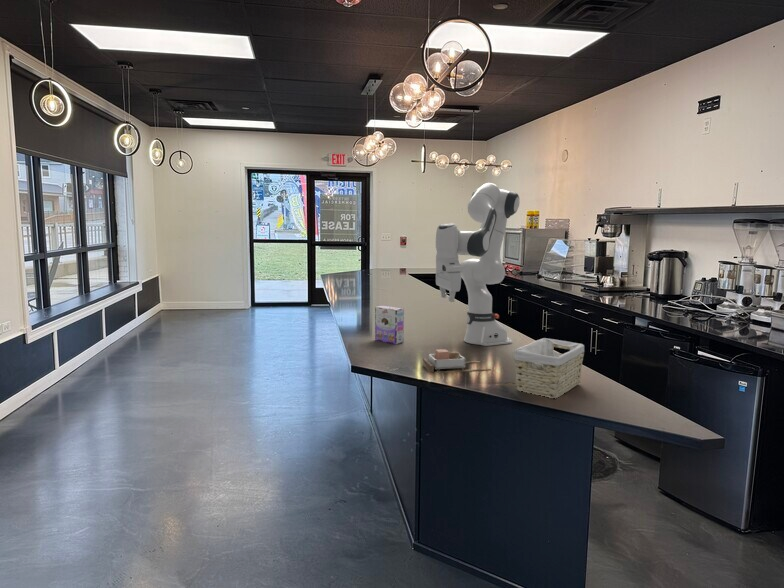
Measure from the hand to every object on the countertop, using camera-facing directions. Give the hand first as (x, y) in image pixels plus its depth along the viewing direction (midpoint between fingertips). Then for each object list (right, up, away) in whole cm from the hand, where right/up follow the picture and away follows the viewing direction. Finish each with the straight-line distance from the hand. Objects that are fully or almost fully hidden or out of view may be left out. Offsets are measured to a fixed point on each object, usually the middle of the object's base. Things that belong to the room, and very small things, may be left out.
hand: (447, 299), depth 206 cm
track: (+3, -27, -9) cm, 29 cm away
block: (-3, -24, -10) cm, 26 cm away
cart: (-2, -26, -10) cm, 28 cm away
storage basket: (+32, -30, -28) cm, 52 cm away
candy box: (-24, -21, +38) cm, 49 cm away
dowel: (+1, -24, -9) cm, 26 cm away
